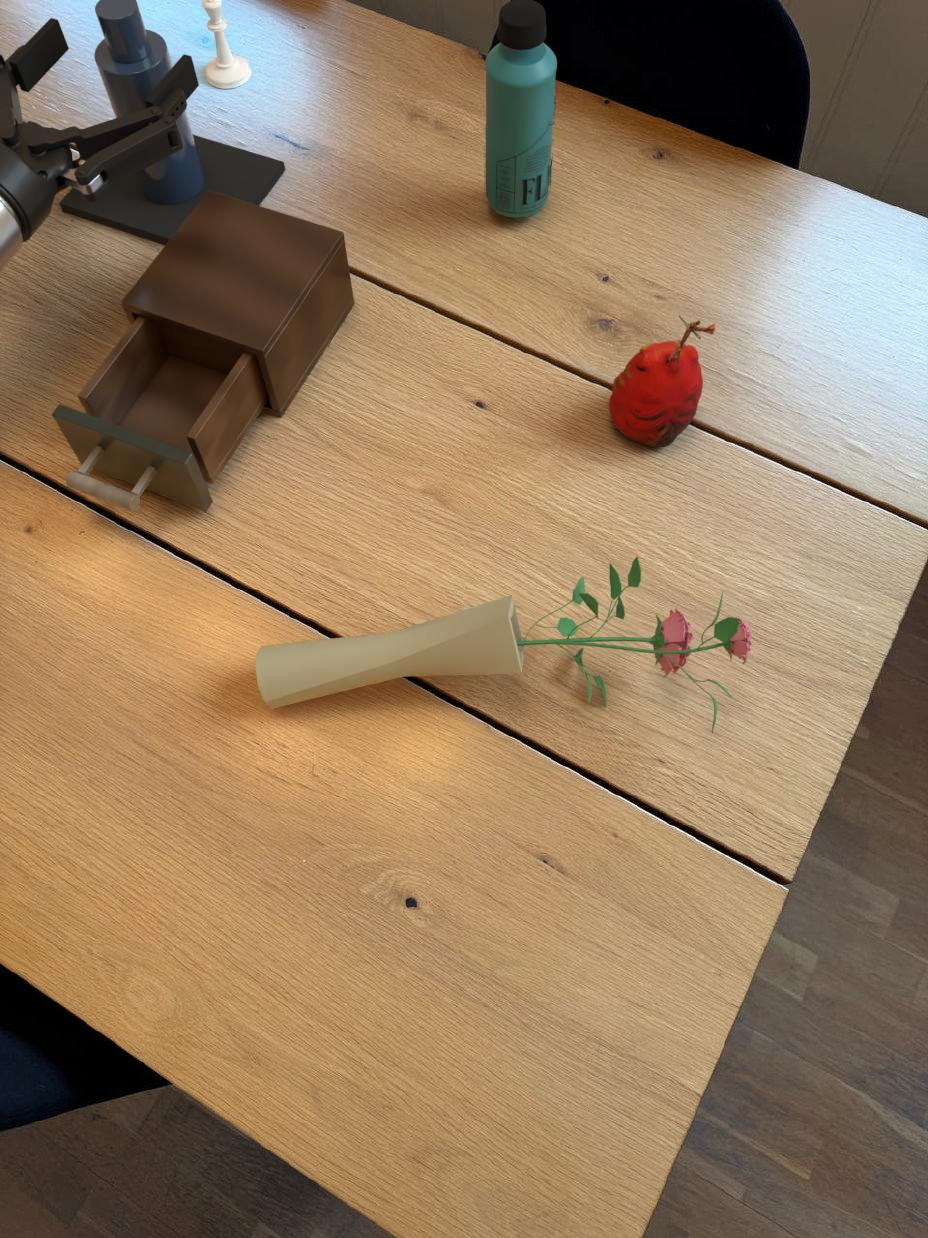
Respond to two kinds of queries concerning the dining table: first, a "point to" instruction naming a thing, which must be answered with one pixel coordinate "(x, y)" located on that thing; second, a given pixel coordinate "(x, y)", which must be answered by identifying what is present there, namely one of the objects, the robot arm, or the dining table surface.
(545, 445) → the dining table surface
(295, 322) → the cabinet
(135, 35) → the blue bottle
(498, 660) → the flower vase
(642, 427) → the red fruit with stem
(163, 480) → the drawer
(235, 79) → the chess piece
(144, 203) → the mat
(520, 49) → the beverage bottle
